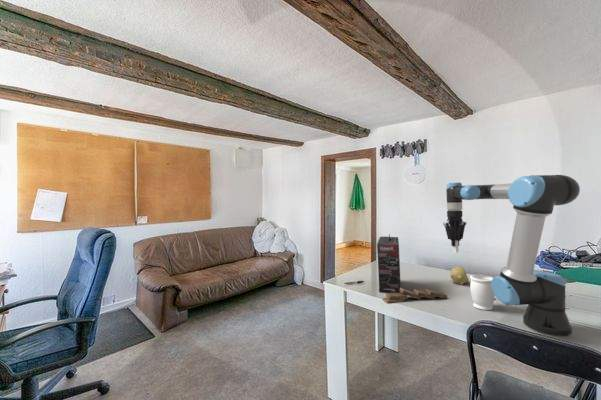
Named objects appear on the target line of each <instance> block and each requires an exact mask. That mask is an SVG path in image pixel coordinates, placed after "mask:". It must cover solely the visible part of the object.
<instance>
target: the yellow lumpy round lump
mask: <svg viewBox="0 0 601 400" xmlns="http://www.w3.org/2000/svg"><path fill="white" fill-rule="evenodd" d="M449 275H450V278H451V282H452V283H453V284H454V283H456V284H457V285H458V284H459V285H461V286H462V285H464V284H467V283H469V281H470V280H469V278H468V275H467V272H466V270H465V268H464V267H462V266H455V267H453V268H452V269H451V270H450V273H449Z"/></svg>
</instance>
